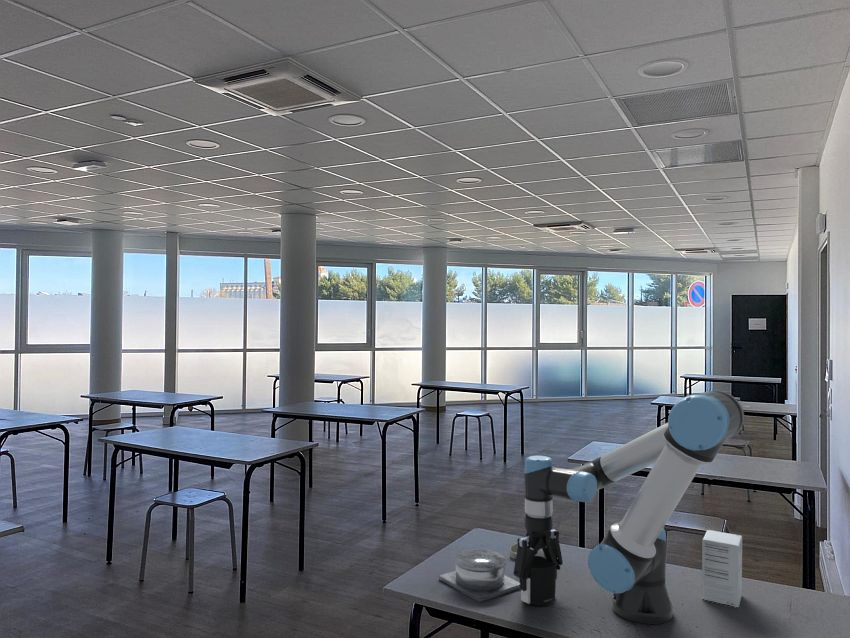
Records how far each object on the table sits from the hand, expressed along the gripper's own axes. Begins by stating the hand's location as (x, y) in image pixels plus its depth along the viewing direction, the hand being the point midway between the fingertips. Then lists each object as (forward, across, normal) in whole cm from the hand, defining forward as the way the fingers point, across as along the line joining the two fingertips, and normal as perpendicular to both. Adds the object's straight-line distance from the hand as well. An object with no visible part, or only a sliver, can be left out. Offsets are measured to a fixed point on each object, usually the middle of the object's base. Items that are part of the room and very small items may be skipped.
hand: (538, 596), depth 169 cm
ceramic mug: (+1, -16, -17) cm, 23 cm away
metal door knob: (+1, +6, -17) cm, 18 cm away
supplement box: (+2, -43, +28) cm, 51 cm away
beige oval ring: (+1, -19, -25) cm, 31 cm away
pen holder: (+1, 0, 0) cm, 1 cm away
